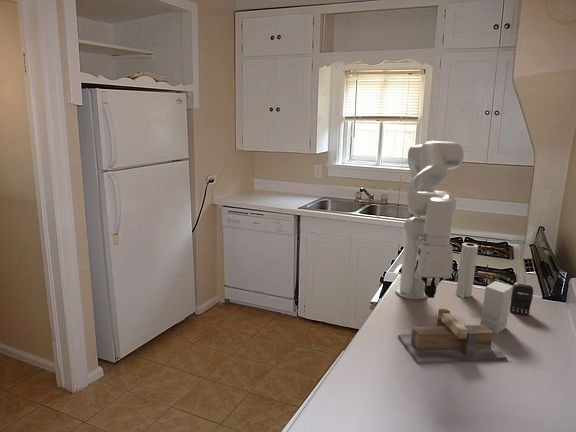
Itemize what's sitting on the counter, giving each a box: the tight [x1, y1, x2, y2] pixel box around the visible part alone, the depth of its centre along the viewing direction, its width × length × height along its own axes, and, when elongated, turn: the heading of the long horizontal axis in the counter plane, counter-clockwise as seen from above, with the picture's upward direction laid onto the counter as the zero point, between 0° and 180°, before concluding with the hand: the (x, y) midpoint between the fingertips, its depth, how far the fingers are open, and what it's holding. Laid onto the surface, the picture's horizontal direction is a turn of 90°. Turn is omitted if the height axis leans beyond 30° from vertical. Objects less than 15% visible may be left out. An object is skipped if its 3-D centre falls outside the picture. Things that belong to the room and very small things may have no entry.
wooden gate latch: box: [397, 318, 508, 364], centre depth 145 cm, size 16×28×9 cm, turn 98°
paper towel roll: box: [455, 242, 479, 299], centre depth 187 cm, size 7×6×21 cm
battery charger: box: [509, 282, 534, 316], centre depth 173 cm, size 7×4×11 cm, turn 67°
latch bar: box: [437, 308, 468, 339], centre depth 145 cm, size 15×4×3 cm, turn 7°
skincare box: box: [479, 280, 513, 335], centre depth 159 cm, size 8×7×16 cm
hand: (429, 296), depth 143 cm, fingers closed
